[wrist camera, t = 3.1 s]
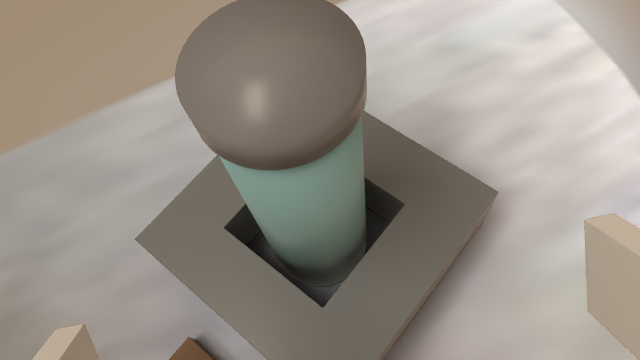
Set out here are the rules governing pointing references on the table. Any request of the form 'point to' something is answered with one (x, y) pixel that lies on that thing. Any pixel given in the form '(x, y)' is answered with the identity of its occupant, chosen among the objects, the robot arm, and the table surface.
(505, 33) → the table surface
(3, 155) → the table surface
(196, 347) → the pad
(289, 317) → the housing
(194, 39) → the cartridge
